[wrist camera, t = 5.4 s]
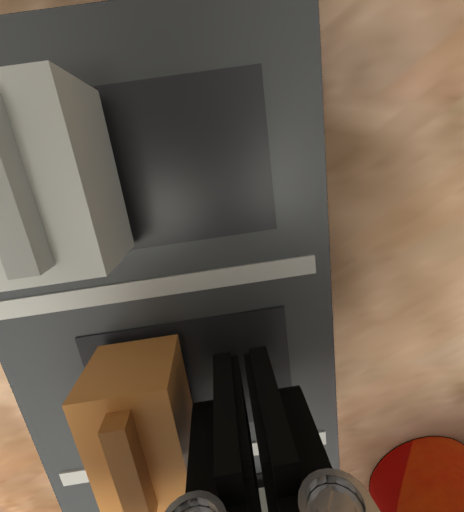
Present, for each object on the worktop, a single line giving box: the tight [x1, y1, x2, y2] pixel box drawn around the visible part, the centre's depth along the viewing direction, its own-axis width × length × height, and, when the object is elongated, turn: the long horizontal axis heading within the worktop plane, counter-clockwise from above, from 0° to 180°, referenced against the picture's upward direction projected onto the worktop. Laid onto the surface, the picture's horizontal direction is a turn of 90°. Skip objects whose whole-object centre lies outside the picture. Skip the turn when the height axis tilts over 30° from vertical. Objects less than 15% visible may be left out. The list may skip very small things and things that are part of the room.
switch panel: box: [0, 0, 340, 512], centre depth 12 cm, size 22×11×3 cm, turn 8°
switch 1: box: [0, 60, 135, 292], centre depth 7 cm, size 4×2×3 cm, turn 8°
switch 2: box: [62, 334, 193, 512], centre depth 9 cm, size 4×2×3 cm, turn 8°
